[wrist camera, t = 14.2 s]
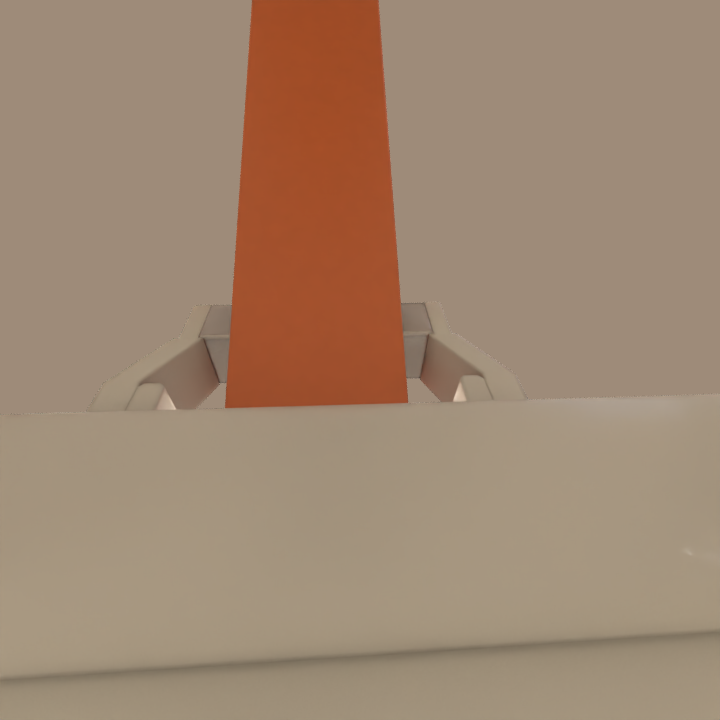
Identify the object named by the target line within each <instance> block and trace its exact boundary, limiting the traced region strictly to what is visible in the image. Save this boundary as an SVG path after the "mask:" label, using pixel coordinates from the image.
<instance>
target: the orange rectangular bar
mask: <svg viewBox="0 0 720 720" xmlns="http://www.w3.org/2000/svg"><path fill="white" fill-rule="evenodd" d="M241 161H242V162H241V175H240V191H239V206H238V221H237V236H236V251H235V266H234V282H233V297H232V311H231V326H230V341H229V357H228V372H227V387H226V402H225V408H250V407H286V406H320V405H353V404H389V403H408V394H407V382H406V381H407V380H406V367H405V353H404V340H403V326H402V312H401V300H400V285H399V272H398V260H397V259H398V258H397V245H396V231H395V218H394V204H393V190H392V177H391V164H390V150H389V136H388V123H387V109H386V95H385V82H384V68H383V55H382V42H381V29H380V15H379V0H252V10H251V25H250V41H249V55H248V70H247V85H246V100H245V115H244V131H243V146H242V160H241Z"/></svg>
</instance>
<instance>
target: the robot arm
mask: <svg viewBox="0 0 720 720" xmlns="http://www.w3.org/2000/svg"><path fill="white" fill-rule="evenodd" d="M231 311H232V305H196V306H194V307H193V309H192V311H191V313H190V315H189V317H188V320H187V322H186V324H185V326H184V328H183V330H182V332H181V334H180V336H179V338H173V339H172V340H170V341H169V342H167V343H166V344H164V345H162V346H161V347H159V348H158V349H156V350H155V351H153V352H151V353H150V354H148V355H147V356H145V357H143V358H142V359H140V360H139V361H137V362H136V363H134V364H133V365H131V366H129V367H128V368H126V369H125V370H123V371H121V372H120V373H118V374H117V375H115V376H114V377H112V378H110V379H109V380H107V381H106V382H104V383H103V384H102V386H101V388H100V389H99V391H98V393H97V394H96V396H95V397H94V399H93V401H92V402H91V404H90V405H89V407H88V409H87V410H86V412H73V413H37V414H3V415H0V720H720V394H702V395H670V396H669V395H668V396H638V397H637V396H634V397H599V398H565V399H531V400H530V399H529V400H528V398H527V396H526V394H525V392H524V390H523V388H522V386H521V384H520V382H519V380H518V378H517V376H516V374H515V373H514V372H512V371H511V370H510V369H508V368H507V367H505V366H504V365H502V364H501V363H499V362H498V361H496V360H495V359H493V358H492V357H490V356H489V355H487V354H486V353H485V352H483V351H482V350H480V349H479V348H477V347H476V346H474V345H473V344H471V343H470V342H468V341H467V340H465V339H464V338H462V337H461V336H459V335H458V334H456V333H453V334H452V332H451V330H450V327H449V325H448V322H447V319H446V316H445V314H444V311H443V308H442V306H441V303H440V302H423V303H401V312H402V326H403V340H404V353H405V367H406V378H420V380H421V381H422V382H423V383H424V384H425V385H426V386H427V387H428V388H429V389H430V390H431V391H432V392H433V393H434V394H435V396H436V397H437V398H438V399H439V400H440V401H441V402H425V403H389V404H353V405H320V406H286V407H250V408H215V409H196V408H197V407H198V406H199V405H200V404H201V403H202V402H203V401H204V400H205V399H206V398H207V397H208V396H209V395H210V394H211V393H212V392H213V391H214V390H215V389H216V388H217V387H218V385H220V384H219V383H227V372H228V357H229V341H230V326H231Z"/></svg>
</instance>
